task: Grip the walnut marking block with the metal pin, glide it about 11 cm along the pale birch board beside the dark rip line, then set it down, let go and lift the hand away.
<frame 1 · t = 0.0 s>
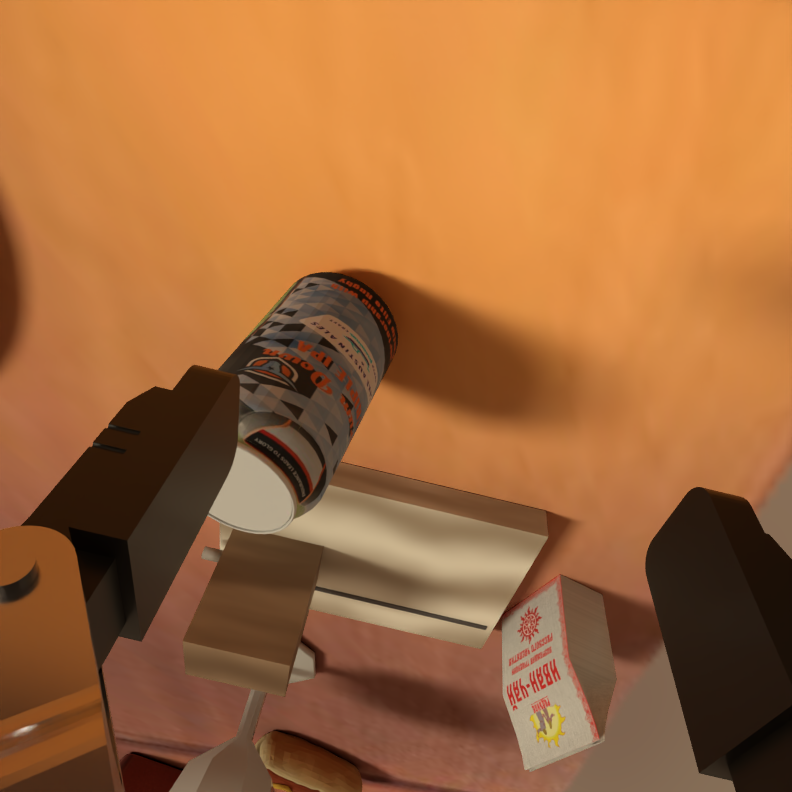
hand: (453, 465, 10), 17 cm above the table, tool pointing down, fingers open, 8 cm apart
board: (371, 541, 40), on the table
tea bag: (549, 602, 42), on the table
wineglass: (272, 648, 52), on the table
food: (313, 746, 65), on the table
beverage can: (331, 316, 29), on the table
plant pot: (163, 775, 78), on the table
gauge: (277, 553, 39), point 2 cm above the table, touching board
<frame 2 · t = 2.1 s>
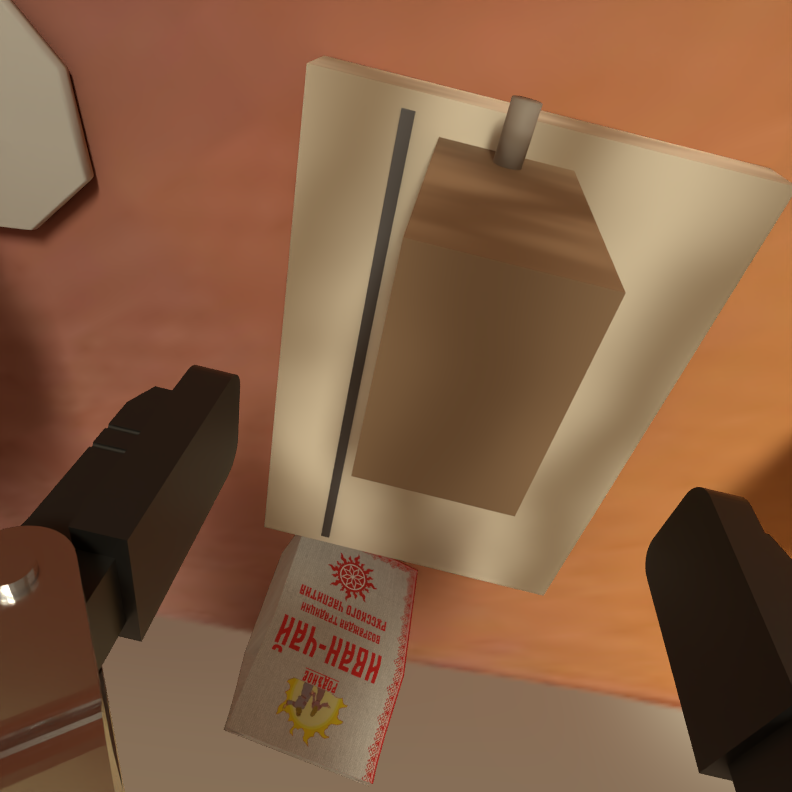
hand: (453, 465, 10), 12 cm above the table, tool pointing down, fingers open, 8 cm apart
board: (460, 374, 23), on the table
tea bag: (349, 558, 32), on the table
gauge: (477, 251, 18), point 2 cm above the table, touching board
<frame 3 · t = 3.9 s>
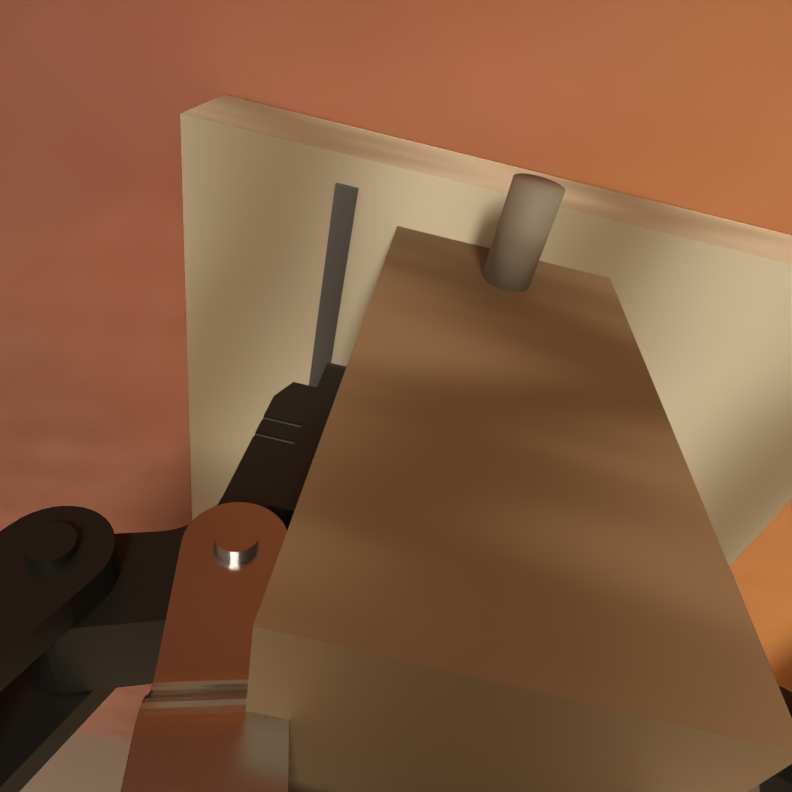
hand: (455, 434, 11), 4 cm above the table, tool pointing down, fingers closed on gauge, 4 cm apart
board: (442, 507, 17), on the table
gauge: (460, 381, 12), point 2 cm above the table, touching board, gripper
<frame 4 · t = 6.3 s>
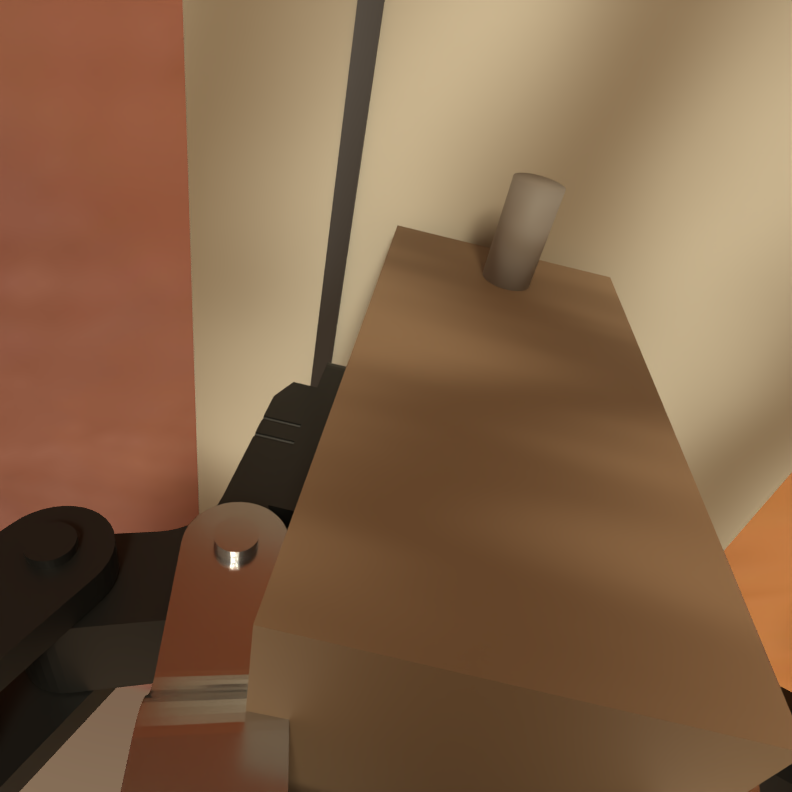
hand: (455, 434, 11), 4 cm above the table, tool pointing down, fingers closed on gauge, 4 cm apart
board: (500, 337, 14), on the table
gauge: (460, 381, 12), point 2 cm above the table, touching gripper
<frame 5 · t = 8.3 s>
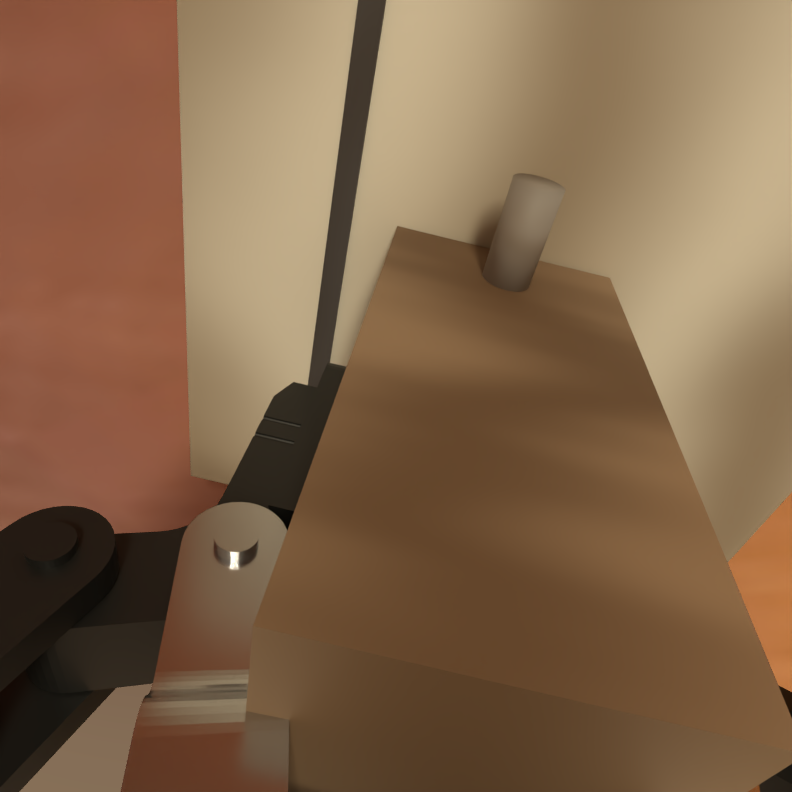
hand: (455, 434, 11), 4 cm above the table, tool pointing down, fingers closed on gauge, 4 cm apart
board: (582, 124, 11), on the table
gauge: (460, 381, 12), point 2 cm above the table, touching gripper
when the fingers open (4 cm above the table, at t = 9.1 s): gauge stays where it is, resting on board.
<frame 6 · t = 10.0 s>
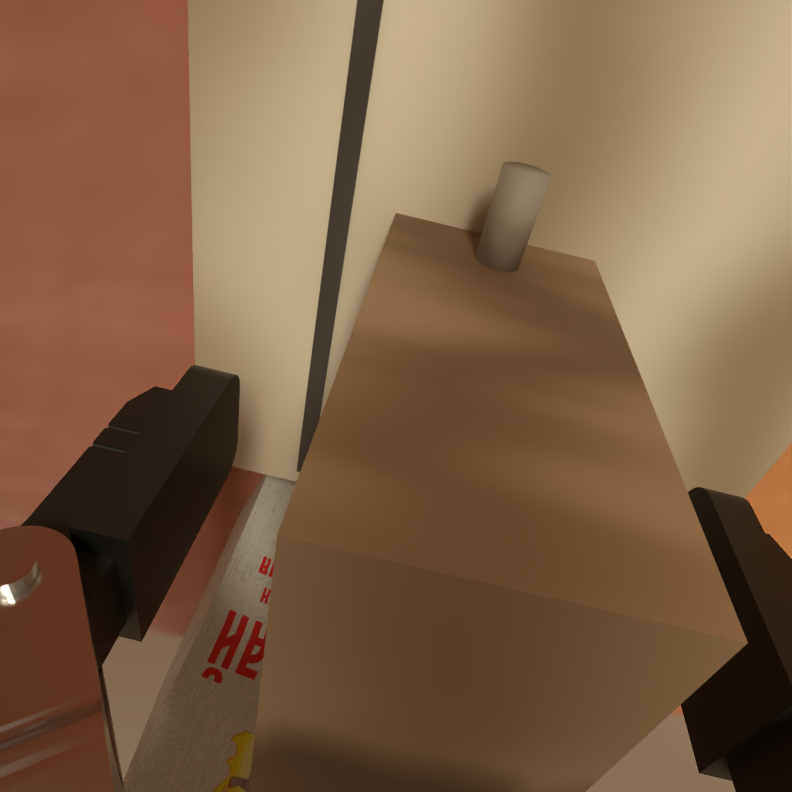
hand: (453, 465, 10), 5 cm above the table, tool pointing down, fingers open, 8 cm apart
board: (568, 119, 12), on the table
tea bag: (347, 521, 20), on the table
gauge: (456, 362, 13), point 2 cm above the table, touching board
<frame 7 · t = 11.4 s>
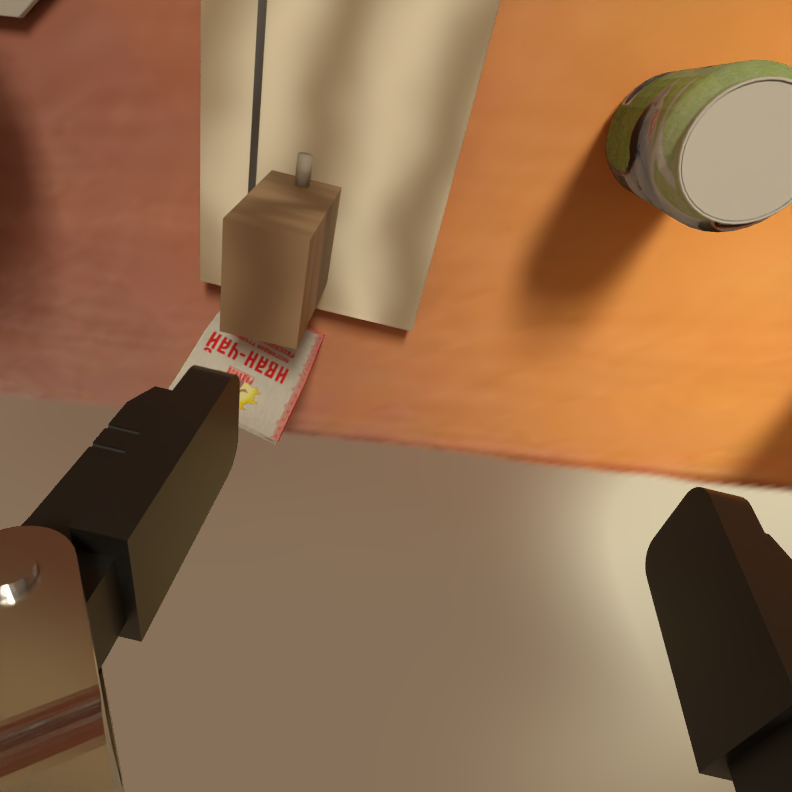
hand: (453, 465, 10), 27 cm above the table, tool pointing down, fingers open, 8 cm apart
board: (335, 137, 32), on the table
tea bag: (272, 329, 41), on the table
beverage can: (660, 117, 30), on the table
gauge: (301, 229, 34), point 2 cm above the table, touching board
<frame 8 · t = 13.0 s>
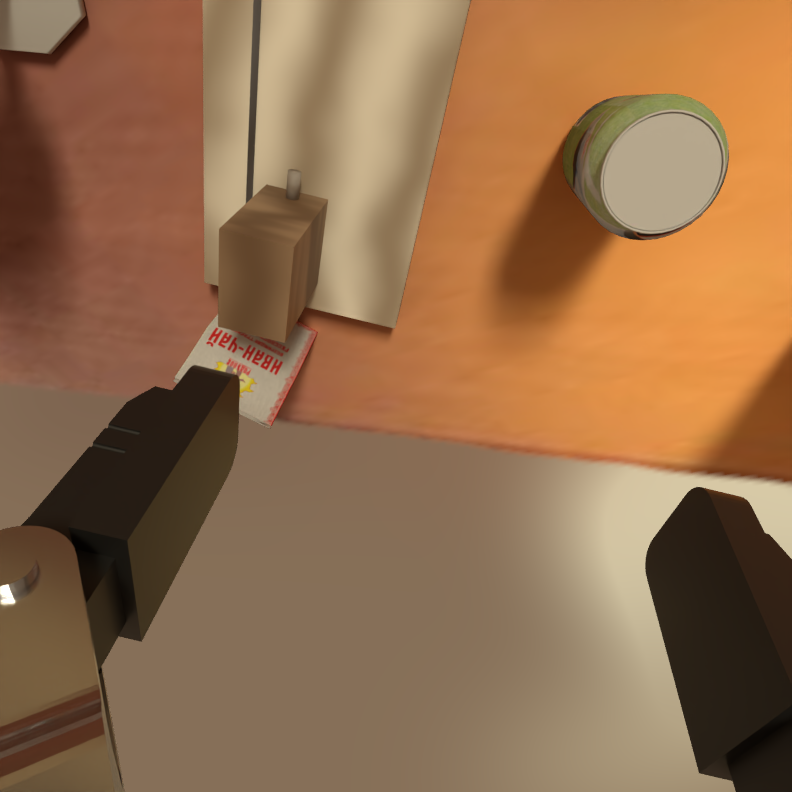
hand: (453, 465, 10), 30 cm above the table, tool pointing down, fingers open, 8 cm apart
board: (322, 155, 36), on the table
tea bag: (270, 327, 45), on the table
beverage can: (612, 136, 34), on the table
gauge: (293, 236, 38), point 2 cm above the table, touching board
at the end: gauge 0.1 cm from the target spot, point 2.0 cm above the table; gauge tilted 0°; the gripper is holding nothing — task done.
